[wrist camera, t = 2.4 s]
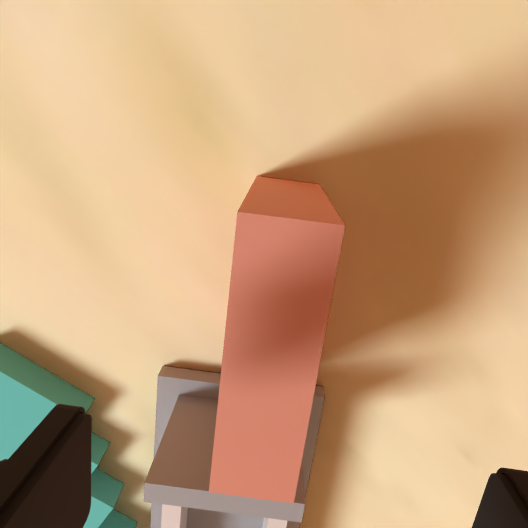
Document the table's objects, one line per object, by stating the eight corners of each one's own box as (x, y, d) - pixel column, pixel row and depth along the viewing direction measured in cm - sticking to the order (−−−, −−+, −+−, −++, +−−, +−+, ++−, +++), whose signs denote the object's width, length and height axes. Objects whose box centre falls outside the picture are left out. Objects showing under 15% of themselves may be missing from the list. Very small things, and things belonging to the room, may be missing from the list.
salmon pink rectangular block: (256, 176, 20) (237, 211, 12) (319, 183, 20) (345, 225, 12) (236, 358, 23) (208, 492, 15) (290, 365, 23) (294, 503, 15)
